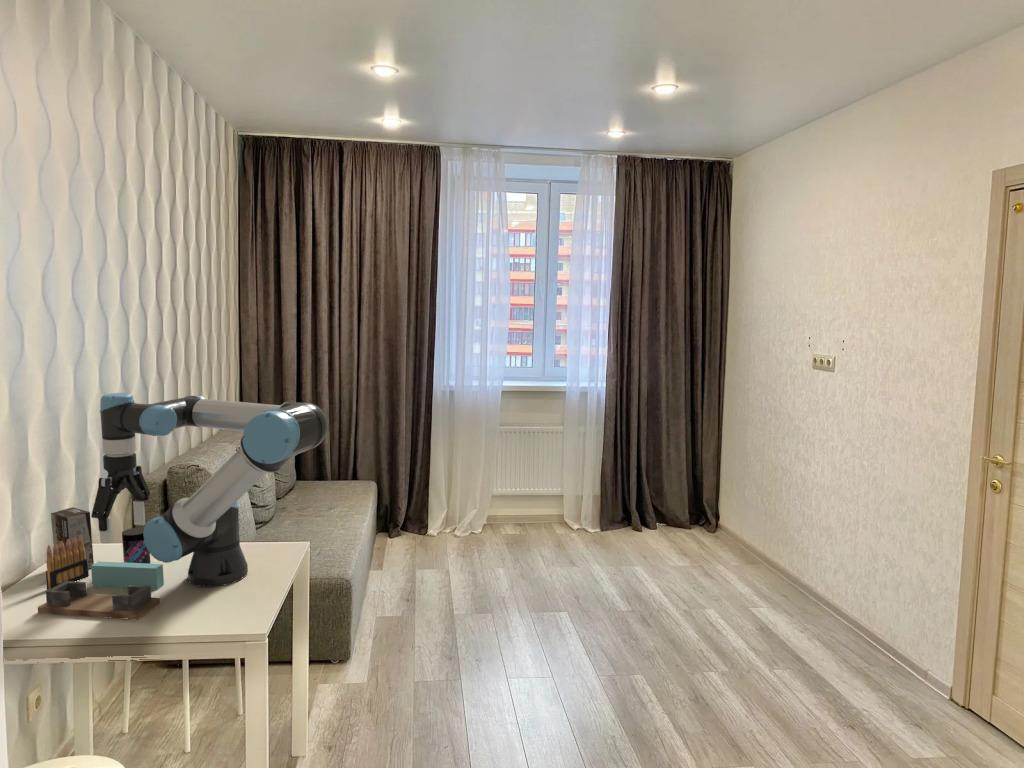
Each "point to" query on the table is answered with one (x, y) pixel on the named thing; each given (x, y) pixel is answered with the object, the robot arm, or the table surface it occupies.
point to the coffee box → (73, 529)
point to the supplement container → (135, 546)
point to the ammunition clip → (66, 563)
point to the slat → (127, 575)
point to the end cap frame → (98, 602)
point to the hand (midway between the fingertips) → (123, 533)
